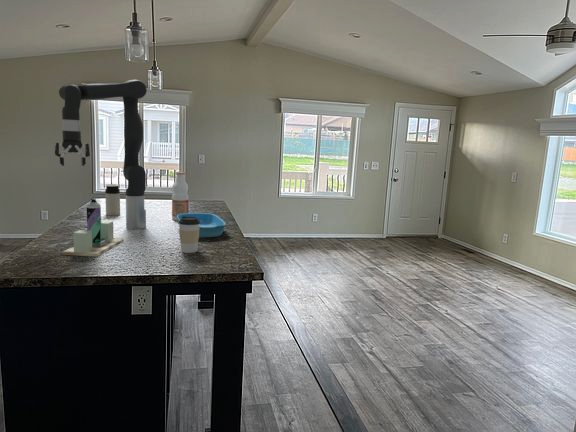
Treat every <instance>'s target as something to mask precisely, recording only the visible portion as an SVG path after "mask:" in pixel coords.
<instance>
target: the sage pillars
mask: <svg viewBox="0 0 576 432" xmlns="http://www.w3.org/2000/svg"><path fill="white" fill-rule="evenodd" d="M72 235H73V237H72V238H73V247H74V252H81V253H87V252H89V251H91V250H92V231H87V229H85V230H84V229H79V230H76V231H74V232H72ZM101 238H107V239H109V241H110V240H112V239H114V221H111V220H110V221H109V220H101Z"/></svg>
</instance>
